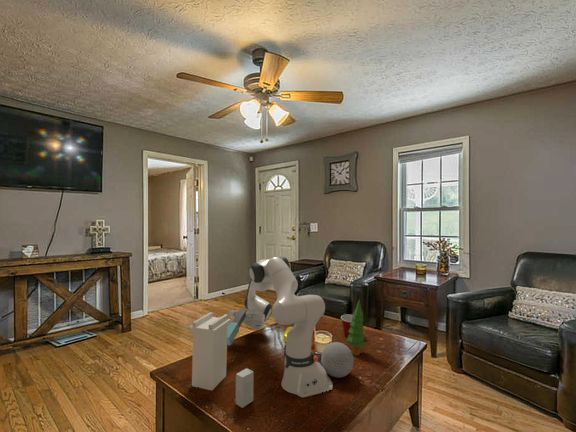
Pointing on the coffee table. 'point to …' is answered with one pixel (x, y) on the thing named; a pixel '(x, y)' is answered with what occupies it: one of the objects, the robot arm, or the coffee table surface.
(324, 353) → the decorative ball
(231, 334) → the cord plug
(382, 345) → the coffee table surface
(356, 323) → the decorative tree
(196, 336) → the cable duct stand
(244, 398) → the skincare box
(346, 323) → the plastic cup
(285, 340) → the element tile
